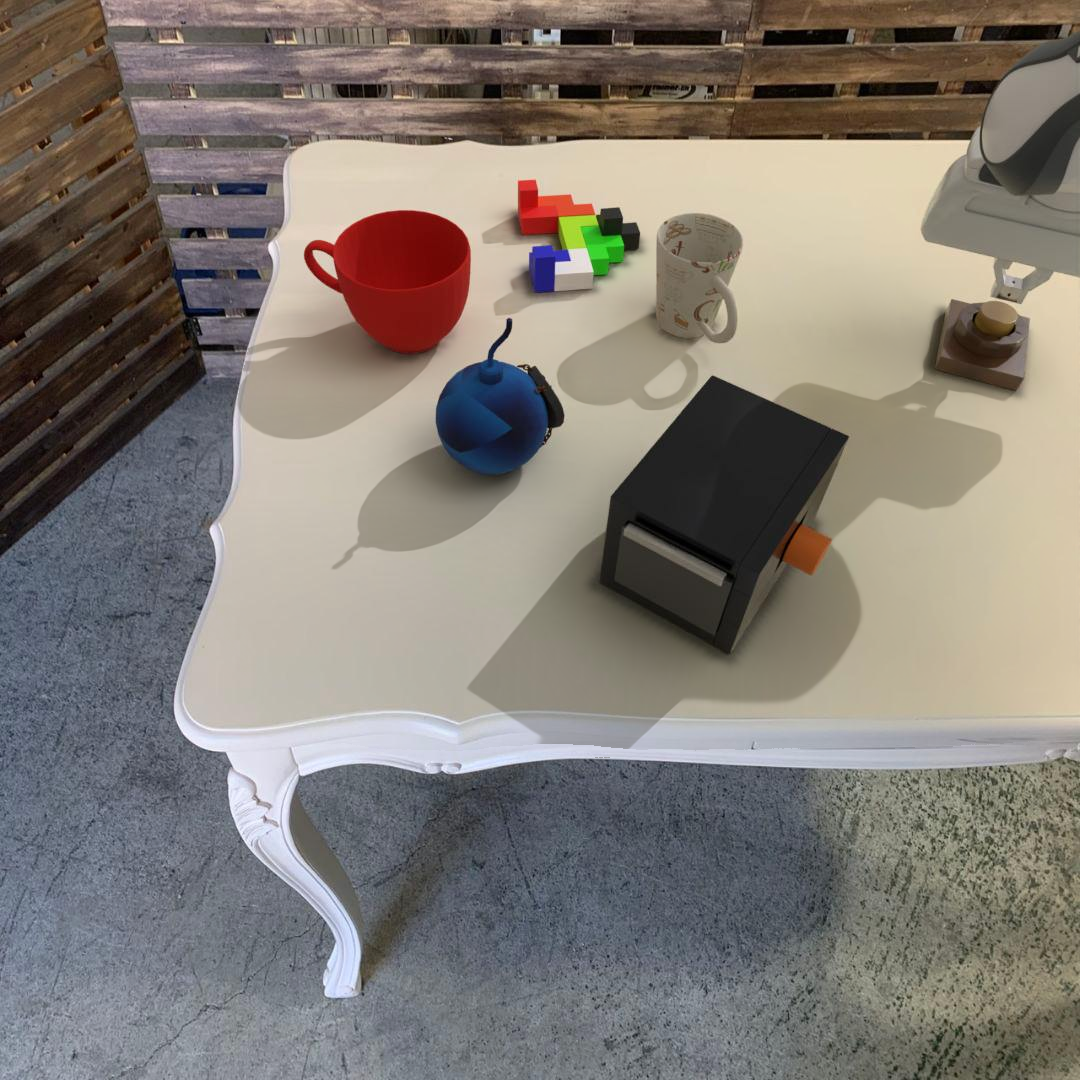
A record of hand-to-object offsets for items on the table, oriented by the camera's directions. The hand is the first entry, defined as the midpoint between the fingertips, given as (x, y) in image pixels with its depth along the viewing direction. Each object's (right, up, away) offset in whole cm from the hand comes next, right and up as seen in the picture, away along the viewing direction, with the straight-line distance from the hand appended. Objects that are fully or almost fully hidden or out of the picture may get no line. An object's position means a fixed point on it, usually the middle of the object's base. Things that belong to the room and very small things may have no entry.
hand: (1005, 297), depth 88 cm
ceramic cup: (-61, -2, +5) cm, 61 cm away
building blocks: (-41, +9, +15) cm, 44 cm away
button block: (0, -4, +5) cm, 7 cm away
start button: (0, -2, +3) cm, 4 cm away
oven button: (-25, -25, -18) cm, 40 cm away
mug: (-29, -2, +6) cm, 30 cm away
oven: (-31, -25, -12) cm, 42 cm away
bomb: (-49, -16, -5) cm, 52 cm away
